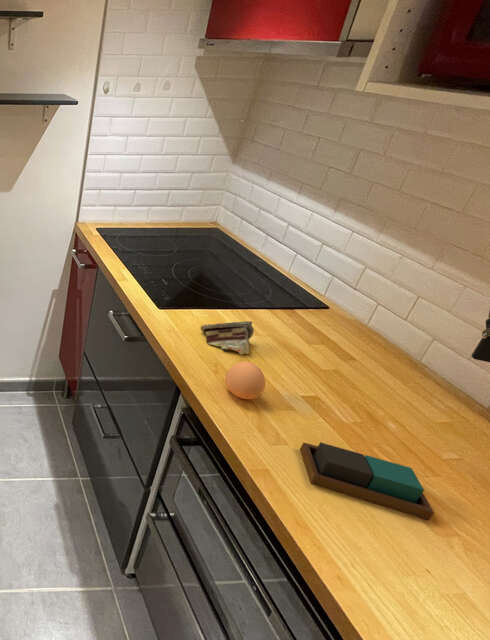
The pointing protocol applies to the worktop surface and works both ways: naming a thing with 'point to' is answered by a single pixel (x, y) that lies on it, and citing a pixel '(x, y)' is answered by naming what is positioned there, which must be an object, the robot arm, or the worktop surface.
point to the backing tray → (362, 489)
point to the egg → (245, 380)
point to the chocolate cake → (229, 335)
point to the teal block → (393, 480)
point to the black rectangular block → (342, 465)
